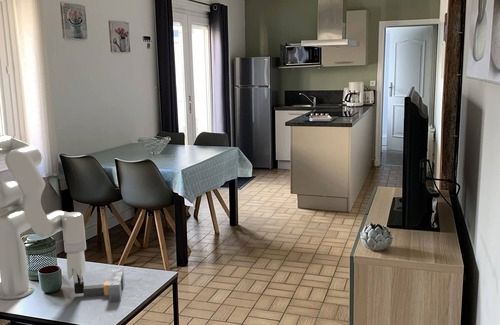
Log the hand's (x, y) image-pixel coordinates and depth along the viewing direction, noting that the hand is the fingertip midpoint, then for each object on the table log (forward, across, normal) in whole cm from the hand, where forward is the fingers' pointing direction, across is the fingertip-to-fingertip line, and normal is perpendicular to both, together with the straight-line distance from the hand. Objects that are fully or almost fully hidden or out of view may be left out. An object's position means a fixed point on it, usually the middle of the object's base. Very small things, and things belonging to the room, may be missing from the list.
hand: (79, 292), depth 187 cm
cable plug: (+1, 0, +8) cm, 8 cm away
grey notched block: (+1, 0, +14) cm, 14 cm away
